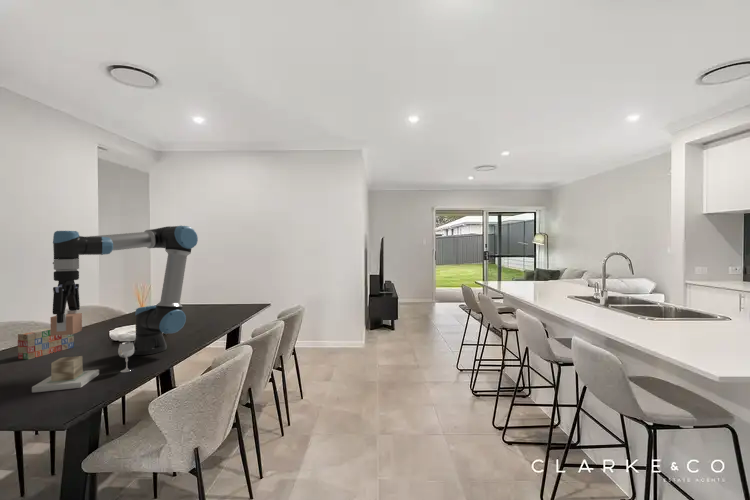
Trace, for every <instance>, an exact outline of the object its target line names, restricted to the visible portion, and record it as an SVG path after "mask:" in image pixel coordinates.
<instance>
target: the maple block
mask: <svg viewBox="0 0 750 500" xmlns="http://www.w3.org/2000/svg"><path fill="white" fill-rule="evenodd" d="M83 363H84V362H83V355H79V356H78V355H76V356H67V357H60V358H58V359H56V360H54V361H52V362H51V366H50V367H51V371H50V372H51V373H50V374H51V375H50V376H51V379H52V381H61V380H71V379H75V378H76V377H78V376H79V375H81V374H82V373H83V371H84V370H83V368H84V366H83Z"/></svg>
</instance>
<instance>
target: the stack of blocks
mask: <svg viewBox="0 0 750 500" xmlns="http://www.w3.org/2000/svg"><path fill="white" fill-rule="evenodd" d="M74 338H75V336H74V334H70V335H54V336H51V327H49V328H48V327H44V328H40V329H34V330H30V331H26V332H21V333H18V334H17V357H18V360H32V359H35V357H36V358H39V357H43V356H47V355H50V353H51V354H54V353H57V351H58V352H61V351H65V350H68V349H73V348H74V347H75V339H74ZM53 352H54V353H53Z"/></svg>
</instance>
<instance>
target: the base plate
mask: <svg viewBox="0 0 750 500" xmlns="http://www.w3.org/2000/svg"><path fill="white" fill-rule="evenodd" d="M99 375H100V369H92V370H91V369H90V370H83V373H82V374H81V375H79V376H78V377H76V378H75V379H71V380H61V381H52V379H51V375H50V376H48V377H47V378H44V379H43V380H42V381H39V382H37V384H35V385H32V386H31V393H41V392H50V391H60V390H61V391H62V390H71V389H80V388H82V387H84V386H85V385H86V384H88V383H90V382H91V381H92V380H94V379H95V378H96V377H97V376H99Z"/></svg>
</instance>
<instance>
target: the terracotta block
mask: <svg viewBox="0 0 750 500" xmlns="http://www.w3.org/2000/svg"><path fill="white" fill-rule="evenodd" d="M65 314H66V331H58V332H57V314H55V315H53V316H51V317H50V328H51V336H54V335H70V334H77V333H79V332H82V331H83V313H82V312H77V313H73V314H67V313H65Z"/></svg>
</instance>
